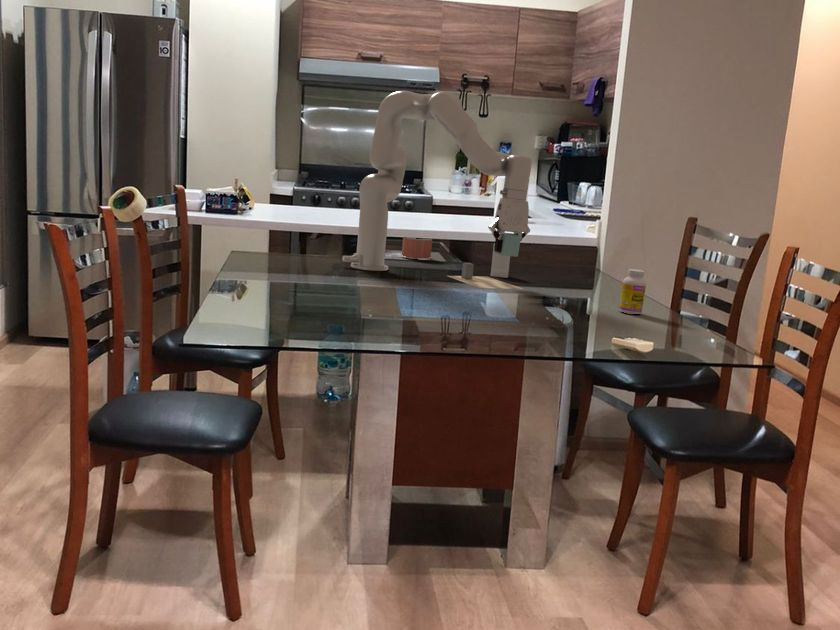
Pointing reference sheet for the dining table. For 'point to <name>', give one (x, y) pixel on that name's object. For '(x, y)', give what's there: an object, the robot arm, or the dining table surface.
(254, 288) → the dining table surface
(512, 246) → the sage green cube
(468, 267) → the post
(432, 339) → the dining table surface
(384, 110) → the robot arm
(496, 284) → the board
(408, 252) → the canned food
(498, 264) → the skincare box
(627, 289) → the supplement bottle
